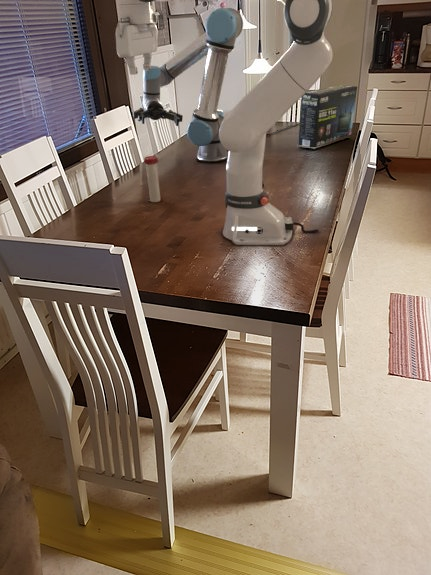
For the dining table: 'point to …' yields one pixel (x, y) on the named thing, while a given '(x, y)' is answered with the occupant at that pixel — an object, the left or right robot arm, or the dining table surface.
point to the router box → (326, 115)
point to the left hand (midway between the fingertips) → (160, 121)
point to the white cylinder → (153, 182)
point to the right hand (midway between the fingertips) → (140, 72)
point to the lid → (150, 160)
